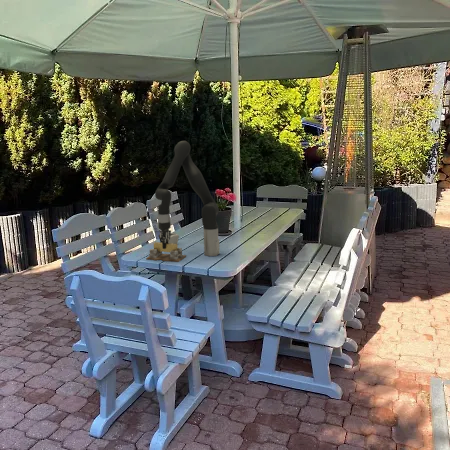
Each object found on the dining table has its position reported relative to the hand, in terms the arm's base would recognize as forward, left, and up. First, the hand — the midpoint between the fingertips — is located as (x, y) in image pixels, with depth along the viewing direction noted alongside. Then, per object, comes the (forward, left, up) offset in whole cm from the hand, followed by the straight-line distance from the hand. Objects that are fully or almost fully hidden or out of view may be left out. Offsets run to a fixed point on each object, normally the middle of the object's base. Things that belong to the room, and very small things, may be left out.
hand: (165, 247), depth 287 cm
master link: (0, 0, -2) cm, 2 cm away
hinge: (+11, -28, -7) cm, 31 cm away
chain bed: (0, 0, -7) cm, 7 cm away
